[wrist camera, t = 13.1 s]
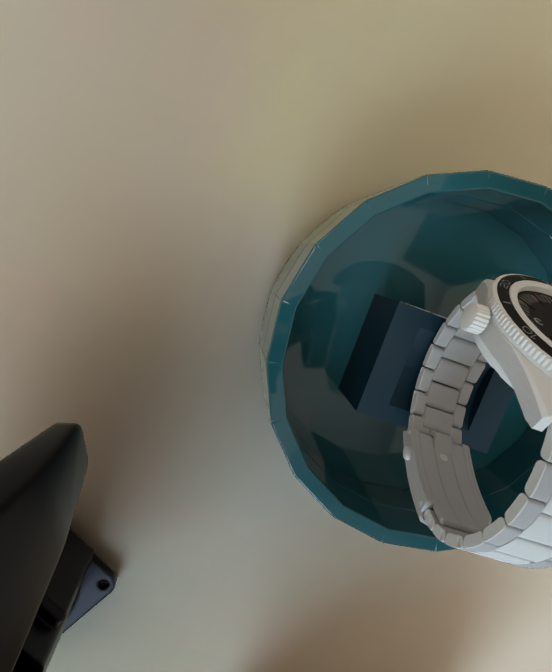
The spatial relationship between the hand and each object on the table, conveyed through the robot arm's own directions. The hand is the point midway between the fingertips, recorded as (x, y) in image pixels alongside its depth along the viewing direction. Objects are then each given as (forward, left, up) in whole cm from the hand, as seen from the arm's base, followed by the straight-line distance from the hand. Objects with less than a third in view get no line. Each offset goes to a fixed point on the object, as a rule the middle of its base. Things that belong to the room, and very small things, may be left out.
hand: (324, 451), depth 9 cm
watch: (+4, -5, -12) cm, 14 cm away
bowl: (+4, -5, -13) cm, 14 cm away
